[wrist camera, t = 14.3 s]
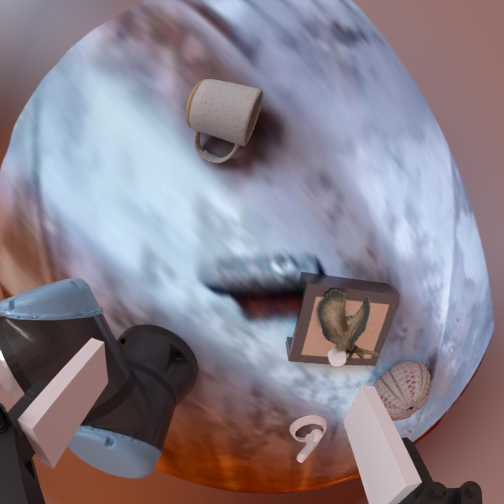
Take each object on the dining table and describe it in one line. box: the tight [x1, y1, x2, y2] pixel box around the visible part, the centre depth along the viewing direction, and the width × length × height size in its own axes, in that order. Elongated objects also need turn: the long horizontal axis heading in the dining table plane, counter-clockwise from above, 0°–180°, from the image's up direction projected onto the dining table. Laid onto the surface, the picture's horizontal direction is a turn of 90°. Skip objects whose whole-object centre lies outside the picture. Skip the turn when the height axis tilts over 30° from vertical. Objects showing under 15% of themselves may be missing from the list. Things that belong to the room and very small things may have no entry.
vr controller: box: [290, 415, 327, 463], centre depth 45 cm, size 8×12×7 cm
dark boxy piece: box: [286, 272, 400, 366], centre depth 40 cm, size 12×14×5 cm
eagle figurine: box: [318, 289, 379, 367], centre depth 34 cm, size 8×7×9 cm
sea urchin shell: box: [373, 361, 431, 421], centre depth 42 cm, size 13×14×8 cm
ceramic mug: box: [186, 79, 263, 163], centre depth 33 cm, size 11×8×8 cm
